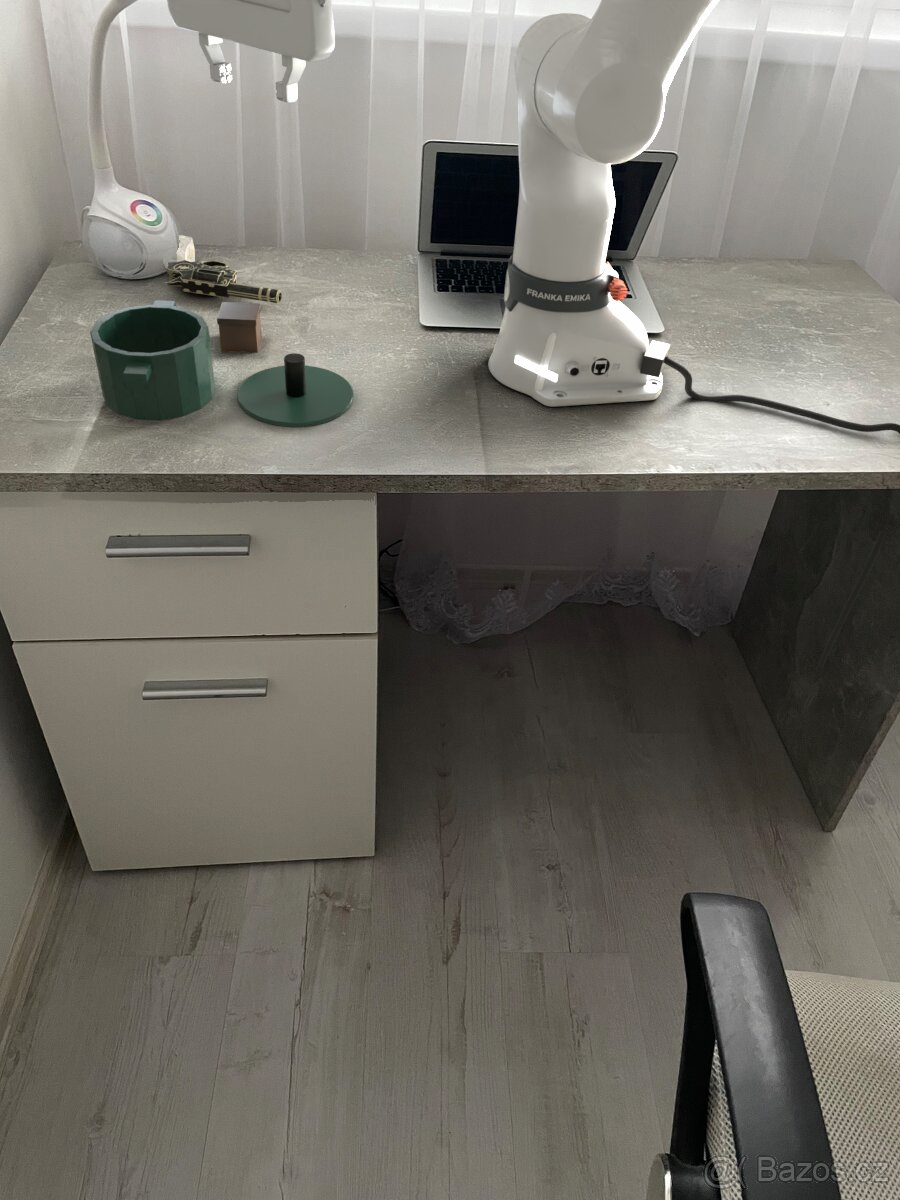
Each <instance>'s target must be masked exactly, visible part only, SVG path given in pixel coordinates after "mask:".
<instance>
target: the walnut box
mask: <svg viewBox="0 0 900 1200" xmlns="http://www.w3.org/2000/svg"><path fill="white" fill-rule="evenodd" d="M261 309H262V308H261V303H257V302H254V303H253V302H233V301H222V302H221V304H220V308H219V311H218V314H217V317H216V321H217V325H218V332H219V342H220V351H221V352H228V353H229V352H230V353H231V352H232V353H253V354H258V353H259V350H260V345H261V341H262V337H263V336H262V324H261V323H262V322H261Z"/></svg>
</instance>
